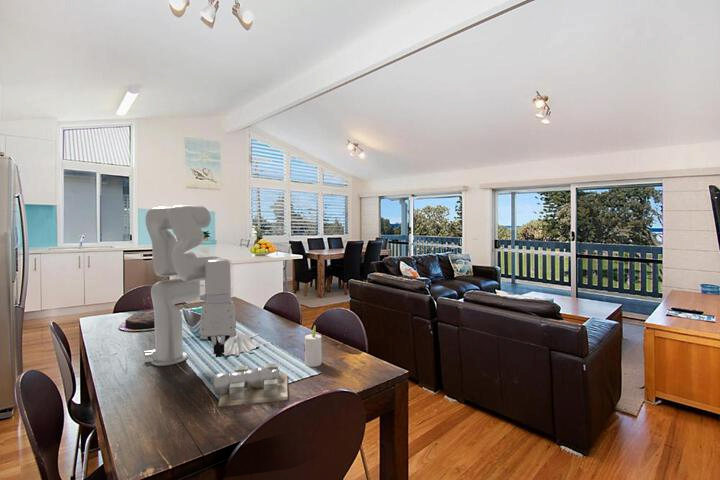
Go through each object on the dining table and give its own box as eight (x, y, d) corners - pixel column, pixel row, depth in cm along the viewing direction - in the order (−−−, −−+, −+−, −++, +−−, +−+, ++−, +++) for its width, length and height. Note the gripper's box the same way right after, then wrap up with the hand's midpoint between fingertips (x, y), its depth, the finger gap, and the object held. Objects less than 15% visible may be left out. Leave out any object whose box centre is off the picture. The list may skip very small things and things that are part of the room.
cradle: (218, 406, 107) (218, 390, 107) (227, 380, 124) (227, 366, 124) (287, 399, 111) (287, 383, 111) (286, 375, 129) (286, 361, 128)
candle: (304, 360, 142) (304, 322, 142) (321, 360, 143) (321, 322, 142) (303, 366, 136) (303, 327, 135) (321, 366, 137) (321, 327, 136)
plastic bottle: (213, 398, 113) (278, 387, 120) (212, 392, 108) (280, 381, 115) (212, 377, 116) (275, 368, 124) (212, 371, 111) (278, 361, 119)
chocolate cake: (123, 336, 172) (123, 323, 172) (114, 324, 193) (113, 312, 193) (186, 325, 191) (186, 313, 191) (171, 315, 212) (171, 304, 211)
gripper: (189, 302, 109) (191, 362, 110) (241, 300, 112) (242, 358, 113) (195, 297, 116) (196, 353, 117) (244, 295, 119) (245, 349, 120)
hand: (219, 355), depth 115 cm, fingers closed
